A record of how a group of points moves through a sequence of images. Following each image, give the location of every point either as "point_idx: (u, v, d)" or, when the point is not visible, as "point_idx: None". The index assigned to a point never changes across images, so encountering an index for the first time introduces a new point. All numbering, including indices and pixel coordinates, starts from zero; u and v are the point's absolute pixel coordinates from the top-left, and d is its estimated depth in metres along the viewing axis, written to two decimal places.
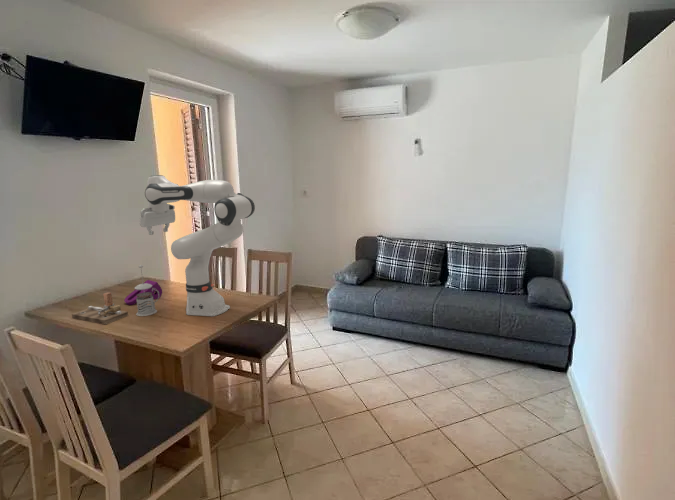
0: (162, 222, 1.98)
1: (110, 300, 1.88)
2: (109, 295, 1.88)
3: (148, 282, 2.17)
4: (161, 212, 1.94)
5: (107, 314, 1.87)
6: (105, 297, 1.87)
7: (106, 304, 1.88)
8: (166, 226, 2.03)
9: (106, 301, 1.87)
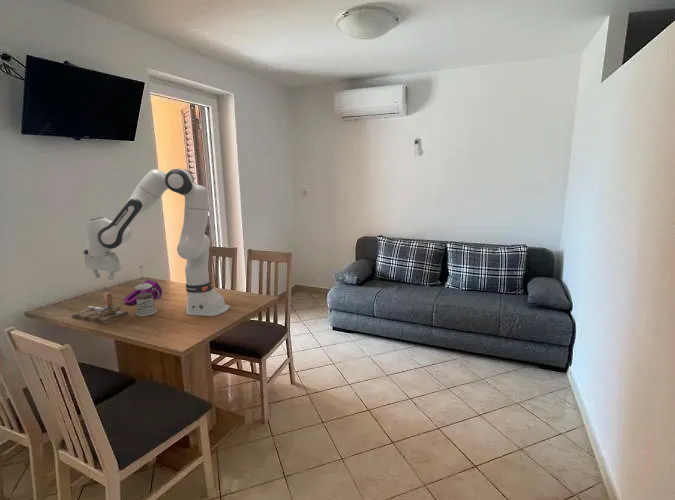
0: None
1: (110, 300, 1.88)
2: (109, 295, 1.88)
3: (148, 282, 2.17)
4: None
5: (107, 314, 1.87)
6: (105, 297, 1.87)
7: (106, 304, 1.88)
8: (96, 271, 1.88)
9: (106, 301, 1.87)
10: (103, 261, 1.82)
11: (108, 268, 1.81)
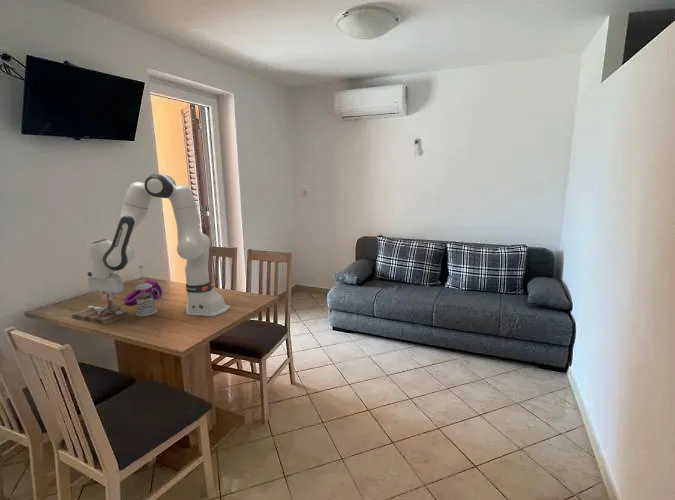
0: None
1: (110, 300, 1.88)
2: None
3: (148, 282, 2.17)
4: None
5: (107, 314, 1.87)
6: (105, 297, 1.87)
7: (106, 304, 1.88)
8: None
9: (106, 301, 1.87)
10: (106, 283, 1.84)
11: (112, 290, 1.83)
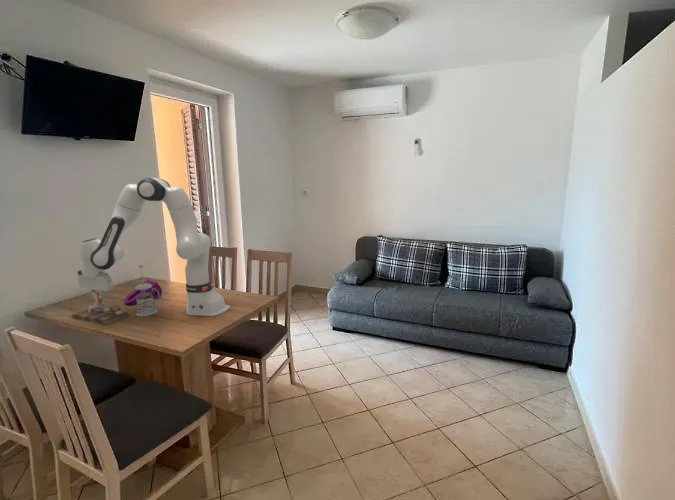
0: None
1: None
2: None
3: (148, 282, 2.17)
4: None
5: (107, 314, 1.87)
6: (95, 295, 1.90)
7: (96, 302, 1.90)
8: (94, 291, 1.91)
9: (96, 299, 1.90)
10: (96, 281, 1.87)
11: (101, 288, 1.86)
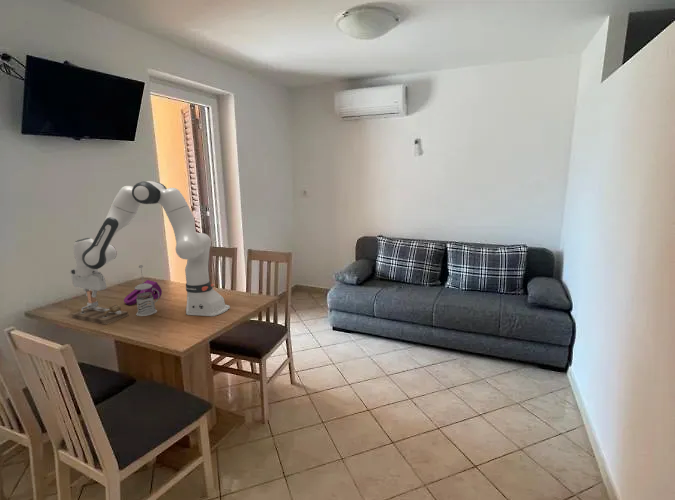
0: None
1: None
2: None
3: (148, 282, 2.17)
4: None
5: (107, 314, 1.87)
6: (88, 294, 1.92)
7: (89, 301, 1.92)
8: (87, 290, 1.93)
9: (89, 298, 1.92)
10: (89, 280, 1.89)
11: (95, 287, 1.88)
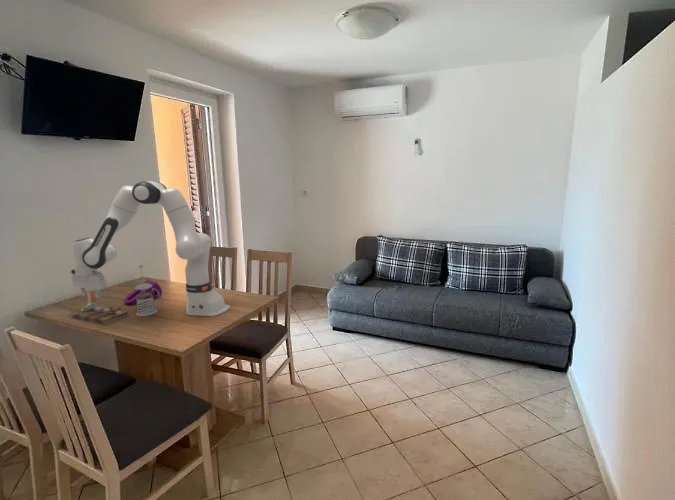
0: None
1: (93, 297, 1.93)
2: (92, 292, 1.92)
3: (148, 282, 2.16)
4: None
5: (107, 314, 1.87)
6: (88, 294, 1.92)
7: (89, 301, 1.92)
8: (83, 290, 1.94)
9: (89, 298, 1.92)
10: (90, 280, 1.89)
11: (95, 287, 1.88)
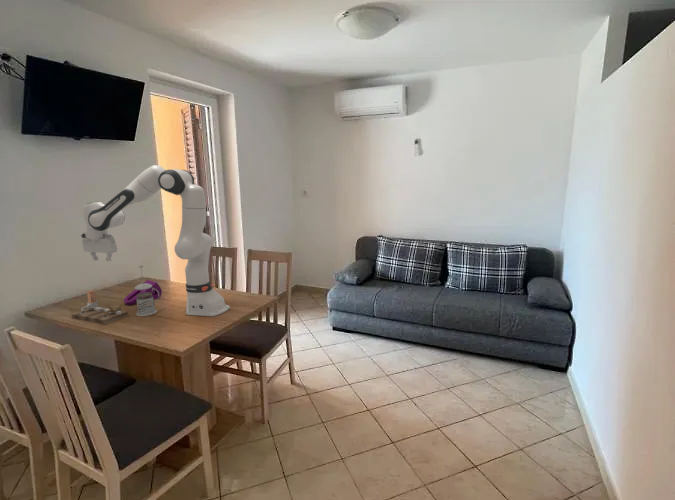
0: None
1: (93, 297, 1.93)
2: (92, 292, 1.92)
3: (148, 282, 2.16)
4: None
5: (107, 314, 1.87)
6: (88, 294, 1.92)
7: (89, 301, 1.92)
8: (94, 254, 1.96)
9: (89, 298, 1.92)
10: (100, 243, 1.91)
11: (106, 250, 1.90)
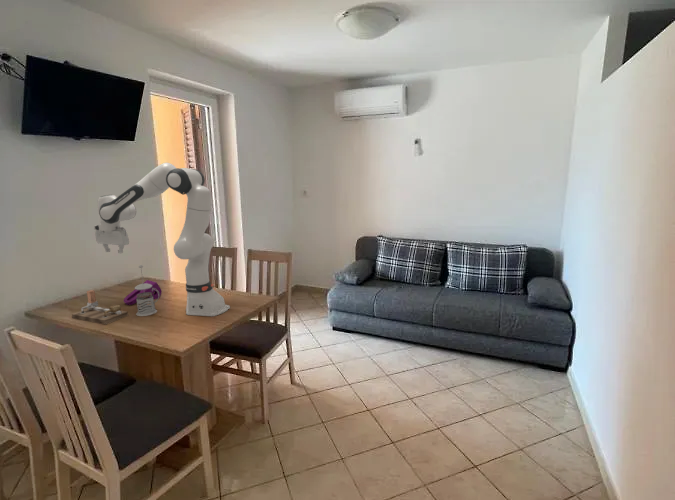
0: None
1: (93, 297, 1.93)
2: (92, 292, 1.92)
3: (147, 282, 2.16)
4: None
5: (107, 314, 1.87)
6: (88, 294, 1.92)
7: (89, 301, 1.92)
8: (106, 246, 2.01)
9: (89, 298, 1.92)
10: (113, 236, 1.95)
11: (118, 242, 1.95)
